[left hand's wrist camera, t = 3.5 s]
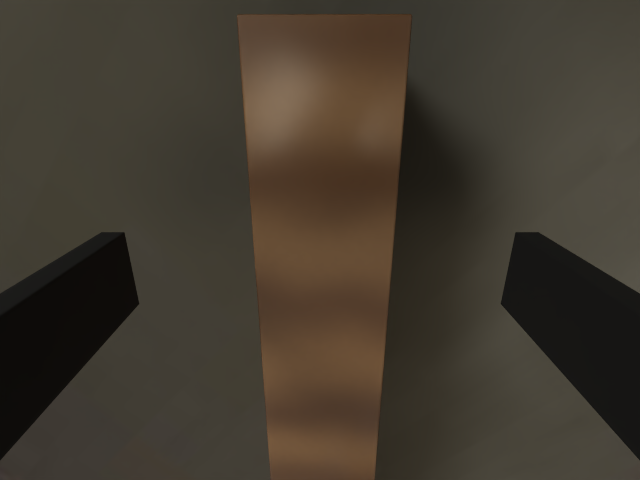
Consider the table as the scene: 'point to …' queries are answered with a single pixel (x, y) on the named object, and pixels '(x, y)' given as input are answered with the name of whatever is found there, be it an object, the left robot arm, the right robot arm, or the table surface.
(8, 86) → the table surface
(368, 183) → the beam
